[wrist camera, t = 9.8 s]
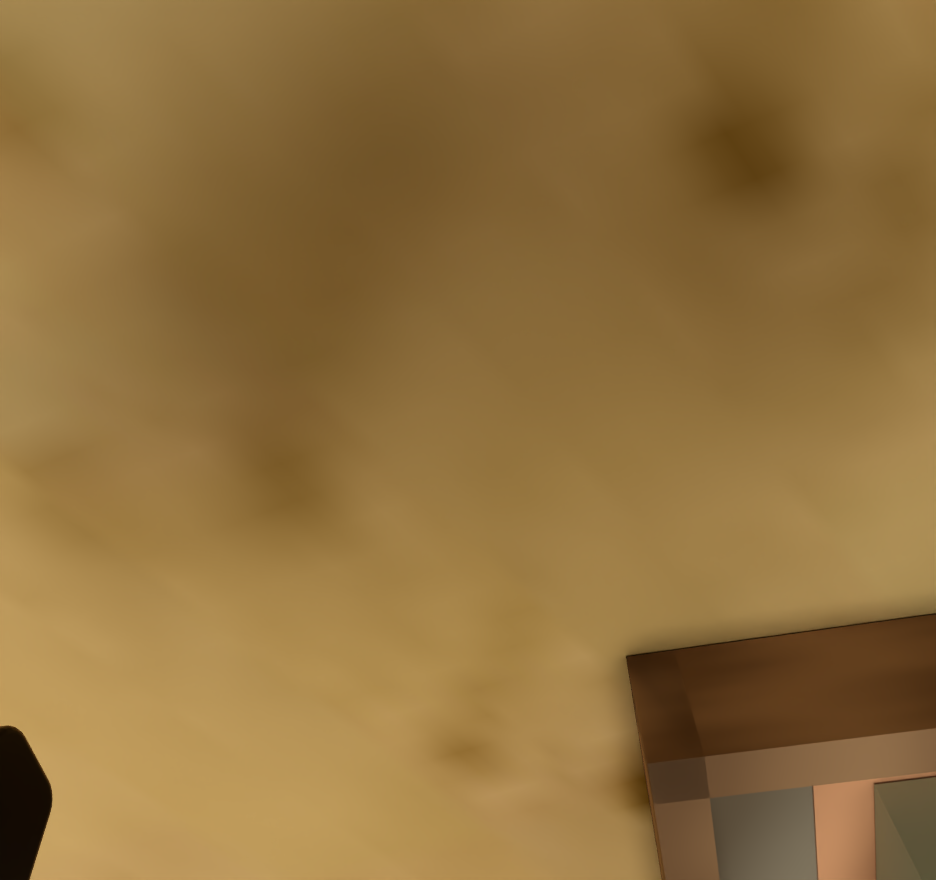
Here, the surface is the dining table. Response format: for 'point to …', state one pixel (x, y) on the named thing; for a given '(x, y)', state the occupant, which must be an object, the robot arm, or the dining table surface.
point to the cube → (905, 830)
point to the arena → (783, 747)
